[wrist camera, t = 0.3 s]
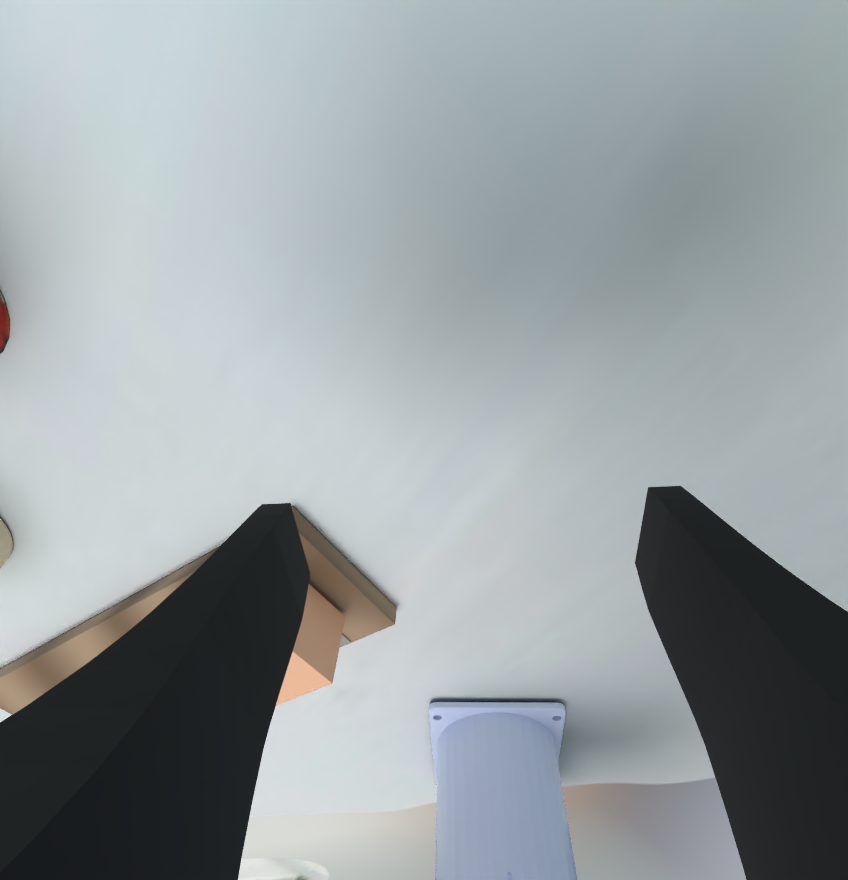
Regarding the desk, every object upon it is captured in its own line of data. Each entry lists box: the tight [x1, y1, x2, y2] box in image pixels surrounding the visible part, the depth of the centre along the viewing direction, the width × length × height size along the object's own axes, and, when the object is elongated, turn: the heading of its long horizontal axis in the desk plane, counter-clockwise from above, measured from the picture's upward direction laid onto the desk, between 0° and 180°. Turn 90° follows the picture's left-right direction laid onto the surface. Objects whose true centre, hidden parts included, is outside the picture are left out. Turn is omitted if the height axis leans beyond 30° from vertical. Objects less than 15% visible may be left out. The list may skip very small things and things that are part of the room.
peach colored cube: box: [276, 584, 345, 705], centre depth 24 cm, size 4×4×4 cm
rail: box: [0, 506, 396, 715], centre depth 29 cm, size 25×8×1 cm, turn 124°
